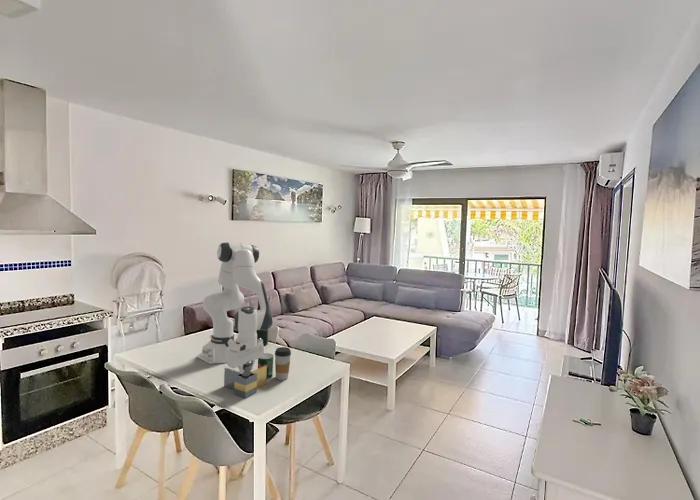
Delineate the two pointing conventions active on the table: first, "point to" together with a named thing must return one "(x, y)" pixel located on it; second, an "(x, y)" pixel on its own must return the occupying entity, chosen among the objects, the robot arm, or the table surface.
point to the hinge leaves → (245, 381)
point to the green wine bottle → (262, 332)
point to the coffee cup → (282, 362)
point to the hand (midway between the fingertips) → (246, 371)
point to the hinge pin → (247, 370)
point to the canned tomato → (266, 364)
